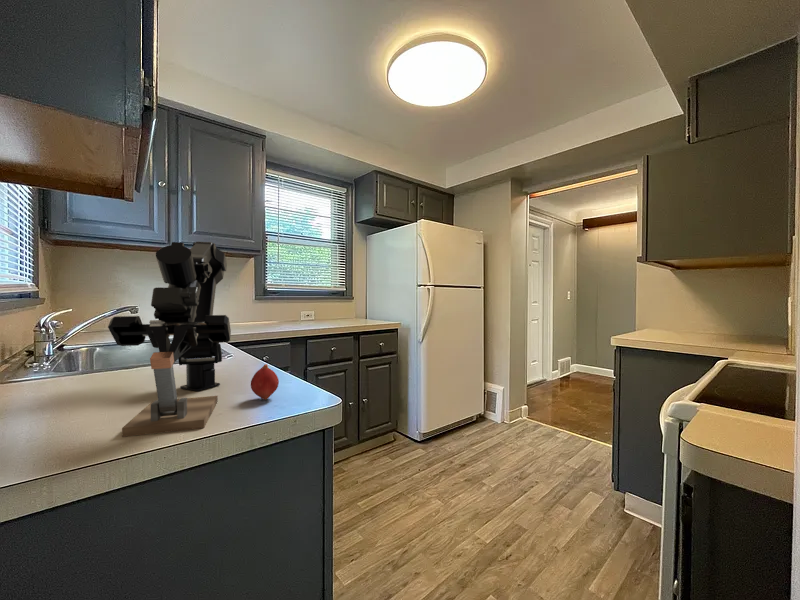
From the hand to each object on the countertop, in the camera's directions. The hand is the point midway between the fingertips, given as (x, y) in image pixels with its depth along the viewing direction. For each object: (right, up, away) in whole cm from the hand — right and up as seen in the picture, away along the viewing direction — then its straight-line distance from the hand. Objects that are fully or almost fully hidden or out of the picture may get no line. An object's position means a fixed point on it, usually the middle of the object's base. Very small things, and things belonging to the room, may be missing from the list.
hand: (165, 368), depth 60 cm
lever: (-1, -8, +2) cm, 8 cm away
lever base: (-2, -11, +7) cm, 13 cm away
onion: (+10, -11, +18) cm, 23 cm away
